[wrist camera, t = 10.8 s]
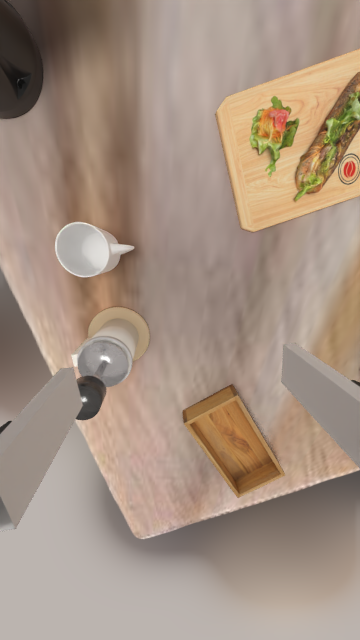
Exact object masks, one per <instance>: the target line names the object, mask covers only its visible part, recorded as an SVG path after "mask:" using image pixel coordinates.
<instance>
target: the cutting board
mask: <svg viewBox="0 0 360 640" xmlns="http://www.w3.org/2000/svg"><path fill="white" fill-rule="evenodd" d="M215 115H216V120H217V124H218V129H219V133H220V138H221V142H222V147H223V151H224V156H225V160H226V165H227V169H228V174H229V178H230V183H231V187H232V192H233V196H234V201H235V205H236V210H237V214H238V219H239V223H240V228H241V229H243V230H247V231H250V232H255V231H258V230H261V229H264V228H267V227H270V226H273V225H276V224H279V223H282V222H284V221H287V220H290V219H293V218H296V217H299V216H302V215H305V214H308V213H311V212H314V211H317V210H320V209H322V208H325V207H328V206H331V205H334V204H337V203H340V202H343V201H346V200H349V199H352V198H355V197H358V196H360V49H358V50H355V51H352V52H349V53H347V54H344V55H341V56H338V57H335V58H333V59H330V60H327V61H324V62H322V63H319V64H316V65H313V66H311V67H308V68H305V69H302V70H300V71H297V72H294V73H291V74H288V75H286V76H283V77H280V78H277V79H275V80H272V81H269V82H266V83H264V84H261V85H258V86H255V87H252V88H250V89H247V90H244V91H241V92H239V93H236V94H233V95H230V96H228V97H226V98H225V100H224V101H223V103H222V104H221V106H220V107H219V108H218V110H217V112H216V114H215Z"/></svg>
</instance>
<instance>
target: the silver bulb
mask: <svg viewBox="0 0 360 640" xmlns="http://www.w3.org/2000/svg"><path fill="white" fill-rule="evenodd" d="M128 367H129V362H128V358H127V355H126V354H125V352H124V351H123V350H122V349H121V348H120V347H119V346H117V345H116V344H113V343H111V342H106V341H99V342H95V343H92V344H90V345H88V346H87V347H86V348H85V349H84V350H83V351H82V352H81V354H80V356H79V358H78V369H79V372H80V374H81V375H82V377H80V378H78V379H77V384H78V388H79V392H80V396H81V400H82V404H83V406H82V408H81V410H80V412H79V413H78V415H77V417H76V419H77V420H87V419H90V418H93V417H94V416H95V415H96V414H97V413H98V411H99V409H100V407H101V404H102V402H103V400H104V397H105V395H106V387H110V386H114V385H116V384H118V383H119V382H121V381H122V380H123V379H124V377H125V376H126V374H127V371H128Z"/></svg>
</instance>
